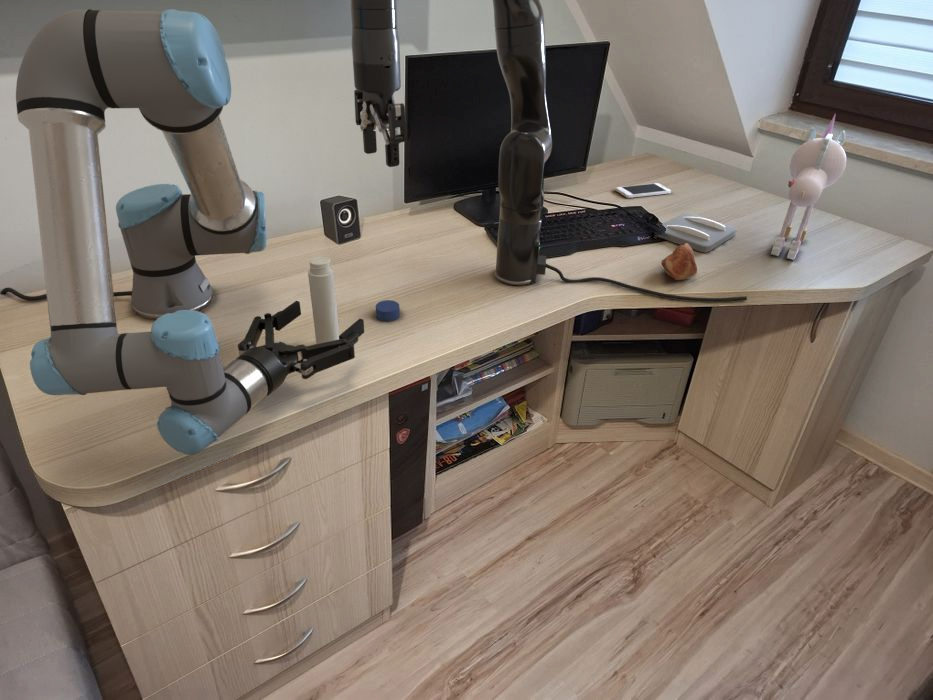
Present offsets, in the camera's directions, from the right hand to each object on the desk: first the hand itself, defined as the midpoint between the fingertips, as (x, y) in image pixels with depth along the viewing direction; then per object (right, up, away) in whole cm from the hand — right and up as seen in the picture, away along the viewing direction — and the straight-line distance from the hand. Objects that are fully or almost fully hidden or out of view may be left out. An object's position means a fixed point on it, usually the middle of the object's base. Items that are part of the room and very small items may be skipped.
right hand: (381, 159), depth 111 cm
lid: (-1, -25, +17) cm, 30 cm away
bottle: (-11, -33, +7) cm, 35 cm away
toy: (+100, -4, +57) cm, 115 cm away
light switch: (+75, -3, +57) cm, 94 cm away
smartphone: (+69, +15, +84) cm, 109 cm away
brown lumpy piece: (+63, -16, +37) cm, 75 cm away
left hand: (-10, -27, +4) cm, 29 cm away
